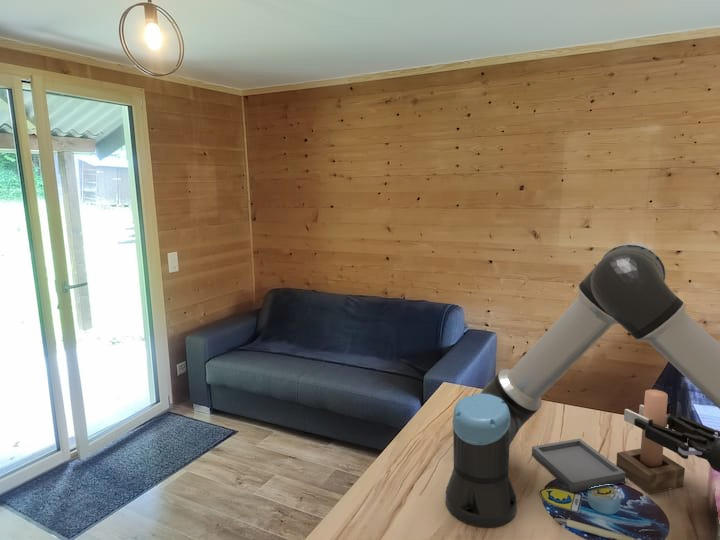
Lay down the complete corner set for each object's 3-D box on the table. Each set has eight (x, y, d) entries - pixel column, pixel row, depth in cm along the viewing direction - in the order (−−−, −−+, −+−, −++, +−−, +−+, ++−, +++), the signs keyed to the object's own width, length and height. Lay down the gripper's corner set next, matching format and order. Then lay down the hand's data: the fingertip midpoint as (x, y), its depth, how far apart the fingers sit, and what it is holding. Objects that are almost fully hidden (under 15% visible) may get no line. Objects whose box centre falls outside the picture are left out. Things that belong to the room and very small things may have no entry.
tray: (572, 492, 109) (572, 482, 108) (531, 455, 124) (532, 446, 124) (625, 482, 112) (625, 472, 111) (579, 447, 127) (579, 438, 127)
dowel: (650, 472, 110) (656, 398, 107) (635, 462, 114) (640, 390, 111) (666, 469, 111) (672, 396, 108) (650, 459, 115) (656, 388, 112)
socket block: (647, 493, 107) (649, 475, 107) (616, 469, 117) (617, 452, 116) (683, 486, 110) (684, 468, 109) (649, 463, 119) (650, 446, 118)
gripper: (710, 491, 92) (605, 434, 113) (765, 468, 98) (656, 419, 119) (714, 454, 90) (607, 404, 111) (769, 434, 97) (658, 390, 118)
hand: (633, 412), depth 115 cm, fingers closed on dowel, 4 cm apart
